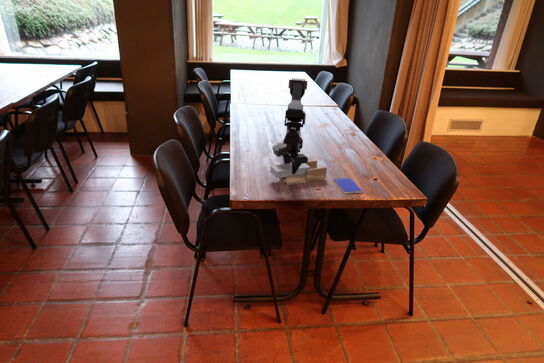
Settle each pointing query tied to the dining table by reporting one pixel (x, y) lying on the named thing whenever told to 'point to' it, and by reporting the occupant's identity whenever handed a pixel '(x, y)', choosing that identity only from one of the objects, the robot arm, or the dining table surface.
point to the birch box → (307, 174)
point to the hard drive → (347, 185)
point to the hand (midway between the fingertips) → (289, 171)
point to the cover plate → (288, 170)
